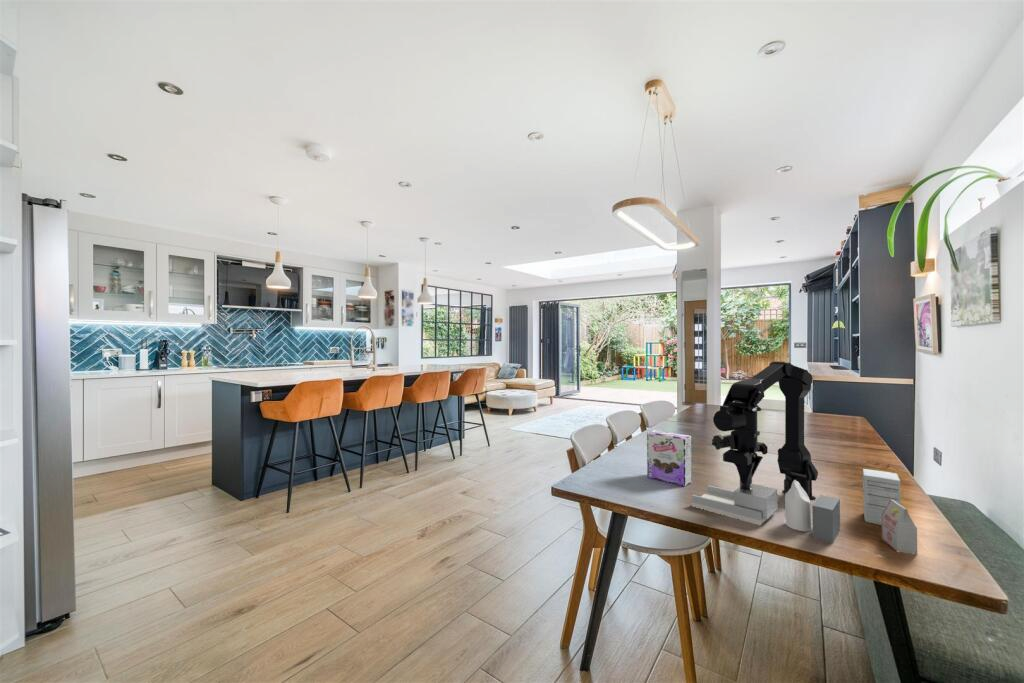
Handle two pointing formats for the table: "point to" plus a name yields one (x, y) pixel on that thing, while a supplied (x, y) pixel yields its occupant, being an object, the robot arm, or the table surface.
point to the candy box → (669, 457)
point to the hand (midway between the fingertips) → (746, 482)
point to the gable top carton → (899, 528)
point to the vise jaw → (756, 498)
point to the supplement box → (879, 493)
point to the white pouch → (797, 508)
